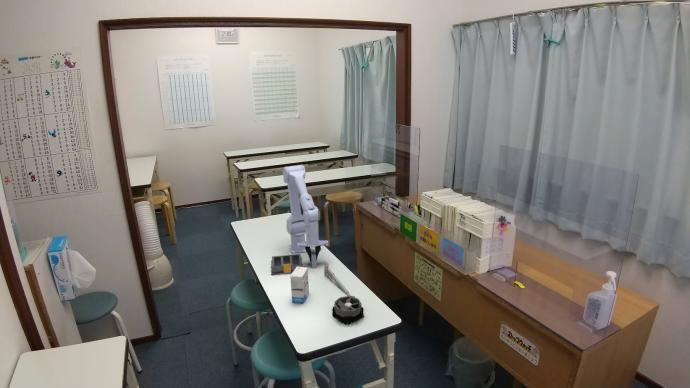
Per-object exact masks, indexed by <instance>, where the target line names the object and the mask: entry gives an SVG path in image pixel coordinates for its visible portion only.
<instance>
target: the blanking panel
mask: <svg viewBox="0 0 690 388" xmlns="http://www.w3.org/2000/svg"><path fill="white" fill-rule="evenodd" d="M310 263H311V268H312V269H317V261H316V254H315V248H311V262H310Z"/></svg>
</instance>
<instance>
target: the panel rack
mask: <svg viewBox="0 0 690 388" xmlns="http://www.w3.org/2000/svg"><path fill="white" fill-rule="evenodd" d="M302 259H303V258H302V257H301V253H297V254H296V253H293V254H284V255H283V254H282V255H272V256H271V261H270V262H271V263H270V267H271V269H270V271H271V272H270V275H271V276H278V275H280V276H281V275H288V274H290V275H291V274H292V273H293V271H294V270H295V269H296V267H304V265H303V260H302Z"/></svg>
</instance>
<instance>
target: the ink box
mask: <svg viewBox="0 0 690 388" xmlns="http://www.w3.org/2000/svg"><path fill="white" fill-rule="evenodd" d="M308 268H309V267H304V266H303V267H296V269H295V270H294V271H293V273H291V274H290V275H289V276H290V287H291V288H290V291H291V303H294V304H295V303H296V304H304V303H305V301H306V299H307V297H308V295H309V293H310V288H309V286H310V285H309V284H310V283H309V269H308Z"/></svg>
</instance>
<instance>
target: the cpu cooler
mask: <svg viewBox="0 0 690 388" xmlns="http://www.w3.org/2000/svg"><path fill="white" fill-rule="evenodd" d="M331 312H332V313H331V314H332V315H331V316H332V317H334V318H335V319H336V320H337V321H339V322H340V323H342V324H343V325H345V326H346V325H348V326H349V325H351V324H353V323H355V322H357V321H359V320H361V319H362V318H364V315H365V314H364V312H365V310H364V307H363V306H362V302H361V300H360V299H359V298H357V297H356V296H355V295H350V296H349V295H348V296H347V295H346V296H340V297H338V298H337V299H336V300H335V301H334V305H333V306H332V308H331Z"/></svg>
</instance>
